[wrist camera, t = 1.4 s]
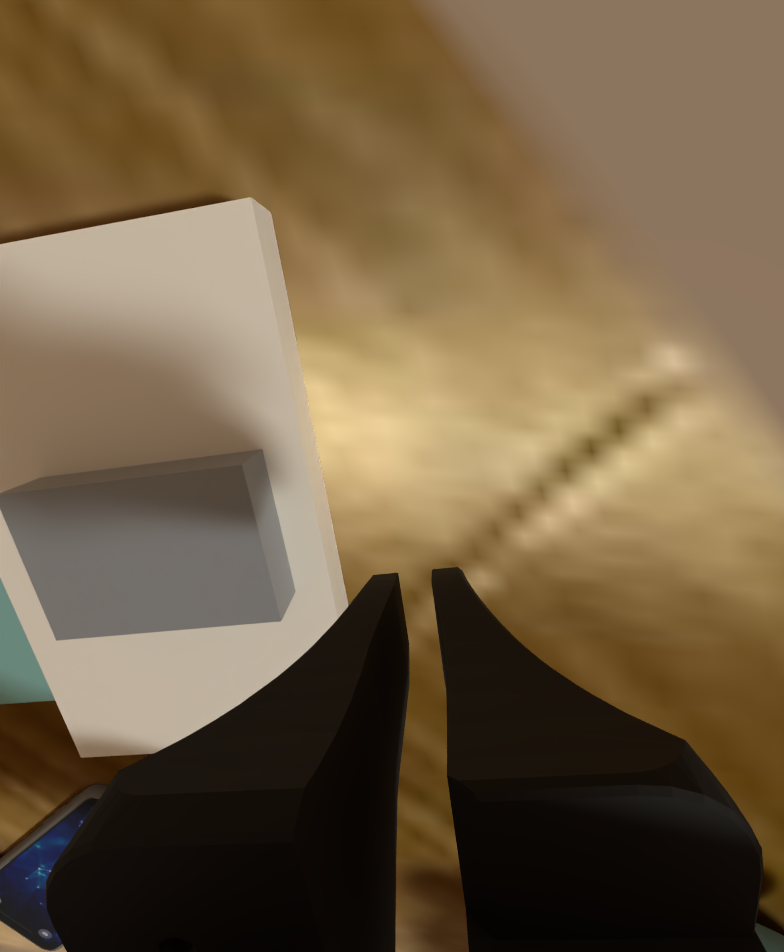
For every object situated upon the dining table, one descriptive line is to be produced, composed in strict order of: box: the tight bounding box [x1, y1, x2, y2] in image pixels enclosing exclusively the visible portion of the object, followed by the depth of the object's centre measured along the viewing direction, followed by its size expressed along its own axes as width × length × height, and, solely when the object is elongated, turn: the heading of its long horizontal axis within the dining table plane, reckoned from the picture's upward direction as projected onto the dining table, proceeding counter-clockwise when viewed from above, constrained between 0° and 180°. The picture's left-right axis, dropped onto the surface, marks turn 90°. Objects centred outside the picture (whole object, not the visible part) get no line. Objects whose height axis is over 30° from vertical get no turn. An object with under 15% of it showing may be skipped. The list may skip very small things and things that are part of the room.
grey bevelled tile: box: [0, 449, 296, 641], centre depth 17 cm, size 6×9×2 cm, turn 98°
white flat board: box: [0, 197, 348, 758], centre depth 19 cm, size 22×14×2 cm, turn 8°
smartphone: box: [0, 784, 108, 951], centre depth 28 cm, size 7×1×15 cm
